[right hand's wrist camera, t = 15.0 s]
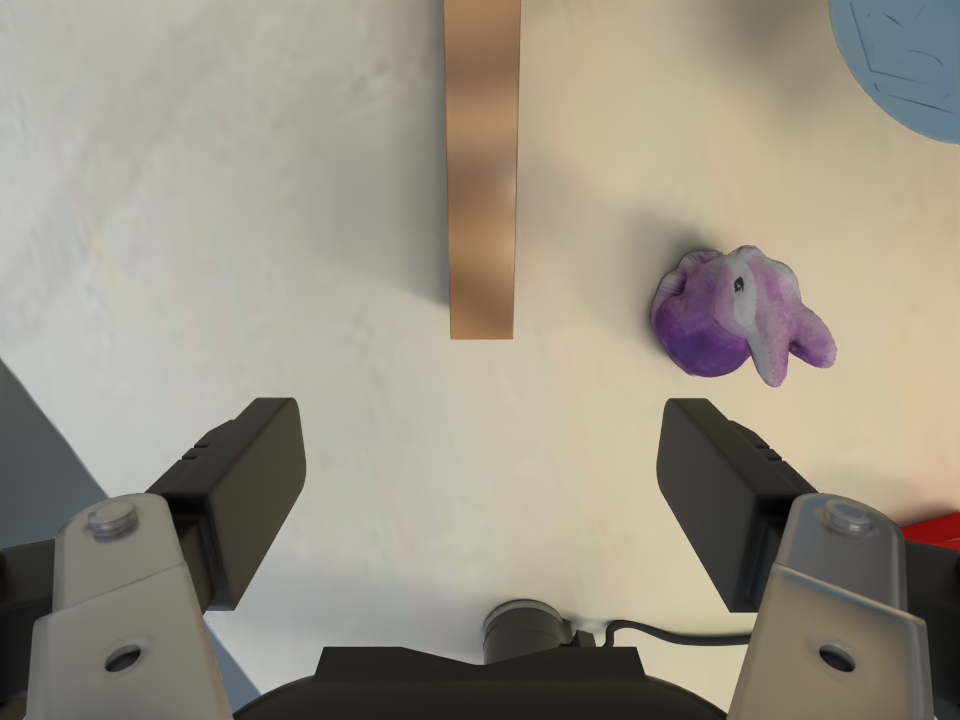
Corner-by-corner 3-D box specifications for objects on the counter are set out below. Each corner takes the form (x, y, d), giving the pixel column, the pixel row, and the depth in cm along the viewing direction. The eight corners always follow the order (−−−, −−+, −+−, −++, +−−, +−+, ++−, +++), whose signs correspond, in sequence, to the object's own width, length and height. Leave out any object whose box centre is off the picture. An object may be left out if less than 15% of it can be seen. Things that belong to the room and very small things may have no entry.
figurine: (700, 219, 42) (811, 242, 28) (770, 304, 45) (904, 364, 31) (613, 297, 44) (674, 355, 30) (683, 374, 47) (771, 460, 33)
